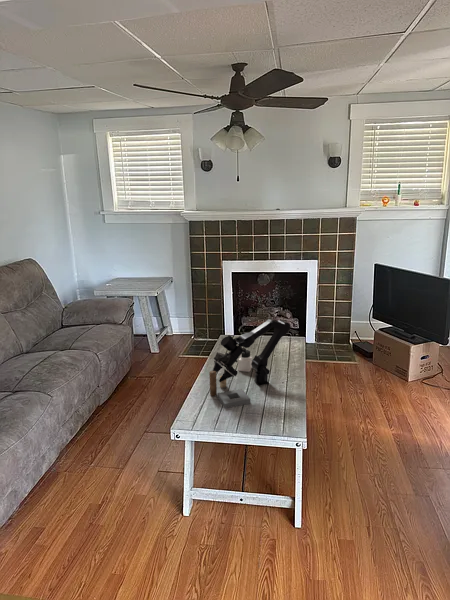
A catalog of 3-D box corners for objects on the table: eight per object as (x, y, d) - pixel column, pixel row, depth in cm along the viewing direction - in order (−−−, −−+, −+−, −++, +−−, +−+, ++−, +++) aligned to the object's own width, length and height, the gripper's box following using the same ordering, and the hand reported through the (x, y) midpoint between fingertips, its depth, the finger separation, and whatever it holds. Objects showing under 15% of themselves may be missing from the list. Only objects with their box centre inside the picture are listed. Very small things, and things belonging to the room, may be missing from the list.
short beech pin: (225, 384, 239) (225, 374, 238) (227, 387, 236) (227, 377, 234) (219, 385, 238) (219, 375, 237) (221, 388, 235) (221, 378, 233)
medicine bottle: (252, 367, 261) (252, 349, 258) (249, 372, 255) (249, 353, 251) (241, 366, 263) (240, 348, 260) (238, 371, 256) (238, 352, 253)
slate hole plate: (242, 392, 229) (241, 388, 229) (250, 403, 218) (250, 398, 218) (217, 397, 225) (217, 393, 224) (224, 408, 214) (224, 403, 213)
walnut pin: (215, 392, 230) (215, 370, 227) (217, 395, 227) (217, 373, 224) (209, 393, 229) (208, 371, 226) (211, 396, 226) (210, 374, 223)
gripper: (216, 341, 233) (198, 364, 231) (232, 353, 216) (213, 377, 214) (229, 352, 238) (211, 374, 236) (245, 364, 222) (227, 388, 220)
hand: (215, 378), depth 226 cm, fingers open, 9 cm apart
